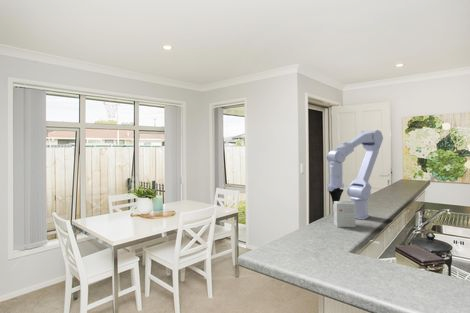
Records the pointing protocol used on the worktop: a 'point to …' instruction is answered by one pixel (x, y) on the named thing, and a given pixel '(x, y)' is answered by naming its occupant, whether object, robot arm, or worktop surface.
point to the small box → (344, 213)
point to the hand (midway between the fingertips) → (335, 204)
